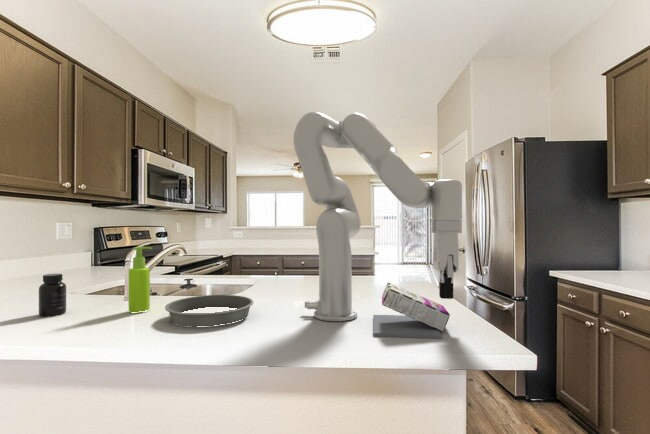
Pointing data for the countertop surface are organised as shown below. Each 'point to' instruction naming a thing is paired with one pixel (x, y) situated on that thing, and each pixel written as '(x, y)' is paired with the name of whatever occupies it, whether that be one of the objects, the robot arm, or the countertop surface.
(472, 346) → the countertop surface
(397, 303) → the candy bar box
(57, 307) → the supplement bottle
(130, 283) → the soap dispenser
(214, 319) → the baking ring
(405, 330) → the mat
